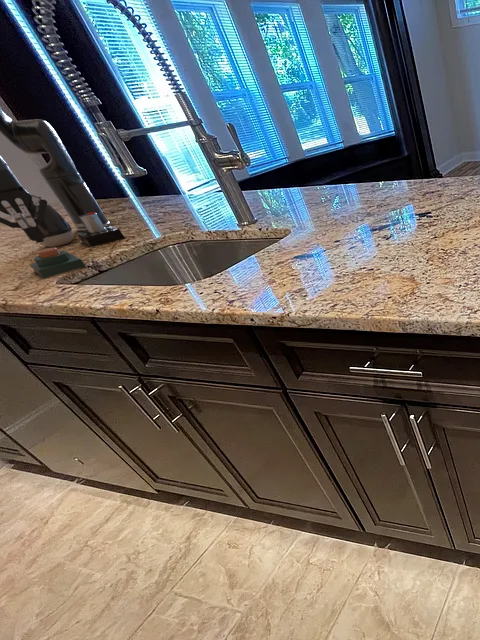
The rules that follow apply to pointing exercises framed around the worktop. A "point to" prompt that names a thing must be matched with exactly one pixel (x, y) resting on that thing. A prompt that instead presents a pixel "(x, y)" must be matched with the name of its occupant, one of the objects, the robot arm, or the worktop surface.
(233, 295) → the worktop surface
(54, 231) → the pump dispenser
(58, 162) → the robot arm
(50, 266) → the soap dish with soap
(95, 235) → the faucet panel
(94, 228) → the faucet dial
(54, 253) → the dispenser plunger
